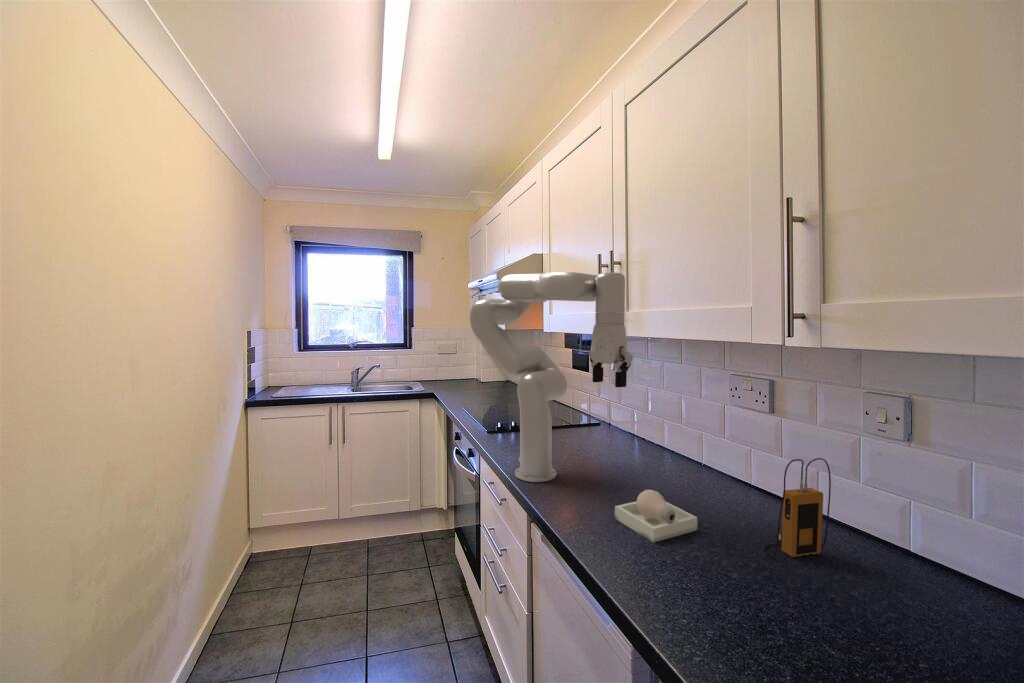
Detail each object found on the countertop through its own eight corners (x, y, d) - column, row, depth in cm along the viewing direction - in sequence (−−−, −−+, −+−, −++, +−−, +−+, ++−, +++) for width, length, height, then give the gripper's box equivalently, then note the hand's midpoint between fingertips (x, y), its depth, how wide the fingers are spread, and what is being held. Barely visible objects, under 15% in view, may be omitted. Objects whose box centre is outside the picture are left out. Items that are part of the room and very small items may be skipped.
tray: (614, 518, 110) (614, 506, 110) (656, 508, 116) (656, 496, 116) (653, 542, 99) (653, 529, 98) (697, 530, 104) (697, 517, 104)
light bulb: (682, 498, 101) (651, 481, 111) (657, 509, 99) (628, 490, 109) (687, 526, 102) (656, 506, 112) (662, 537, 100) (633, 516, 110)
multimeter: (796, 530, 104) (800, 444, 103) (836, 553, 94) (840, 457, 93) (740, 537, 101) (743, 448, 100) (775, 561, 91) (778, 462, 90)
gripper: (579, 319, 127) (578, 381, 128) (619, 320, 112) (618, 390, 113) (601, 319, 131) (600, 379, 132) (643, 320, 115) (642, 388, 116)
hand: (608, 384), depth 122 cm, fingers open, 9 cm apart
